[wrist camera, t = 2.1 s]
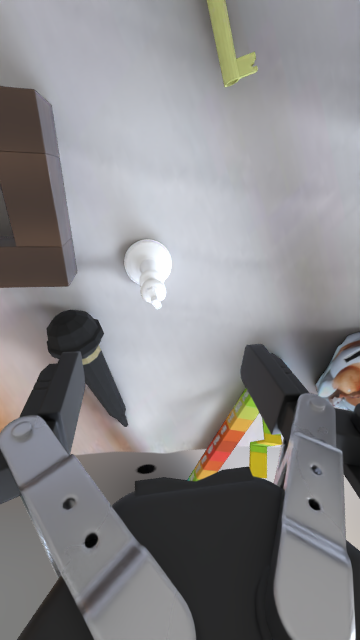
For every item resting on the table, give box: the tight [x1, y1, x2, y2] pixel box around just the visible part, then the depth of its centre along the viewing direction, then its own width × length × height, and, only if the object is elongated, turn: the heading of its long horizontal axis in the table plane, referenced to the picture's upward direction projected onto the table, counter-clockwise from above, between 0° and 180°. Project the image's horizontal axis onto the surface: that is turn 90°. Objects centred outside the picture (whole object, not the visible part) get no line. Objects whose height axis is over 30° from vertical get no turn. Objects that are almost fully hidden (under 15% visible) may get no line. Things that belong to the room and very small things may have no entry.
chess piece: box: [124, 239, 172, 309], centre depth 23 cm, size 5×5×10 cm
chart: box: [188, 367, 288, 481], centre depth 36 cm, size 30×3×15 cm, turn 158°
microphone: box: [47, 310, 128, 427], centre depth 31 cm, size 6×6×20 cm
